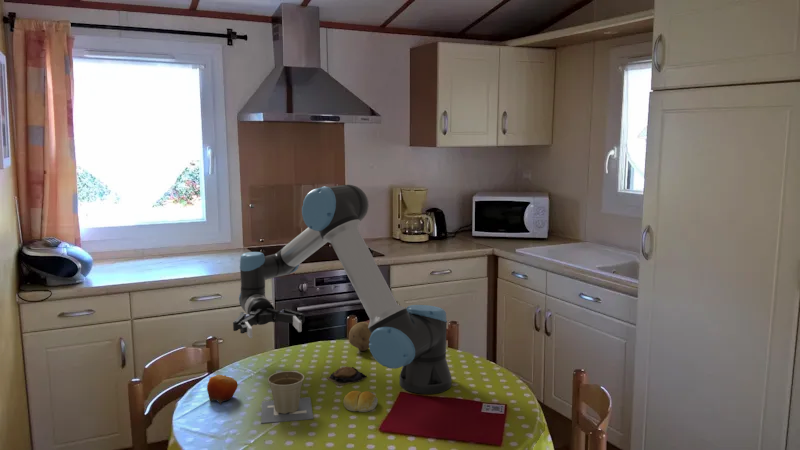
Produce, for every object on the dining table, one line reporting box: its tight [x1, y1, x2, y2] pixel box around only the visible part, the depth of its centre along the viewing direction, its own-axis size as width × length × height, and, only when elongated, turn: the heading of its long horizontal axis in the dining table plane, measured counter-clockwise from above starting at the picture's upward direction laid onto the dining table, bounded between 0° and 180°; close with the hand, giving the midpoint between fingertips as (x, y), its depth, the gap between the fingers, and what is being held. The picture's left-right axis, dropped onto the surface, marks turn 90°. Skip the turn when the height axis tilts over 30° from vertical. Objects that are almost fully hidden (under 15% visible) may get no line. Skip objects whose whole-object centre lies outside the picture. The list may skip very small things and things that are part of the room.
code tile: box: [260, 396, 314, 424], centre depth 162 cm, size 13×13×1 cm
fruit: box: [206, 374, 239, 406], centre depth 168 cm, size 8×8×8 cm
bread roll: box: [342, 390, 379, 413], centre depth 164 cm, size 8×9×4 cm
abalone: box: [326, 366, 368, 387], centre depth 183 cm, size 11×8×4 cm
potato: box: [348, 321, 371, 352], centre depth 206 cm, size 9×9×10 cm
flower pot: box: [267, 370, 305, 414], centre depth 161 cm, size 9×9×9 cm
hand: (276, 330), depth 168 cm, fingers open, 13 cm apart
